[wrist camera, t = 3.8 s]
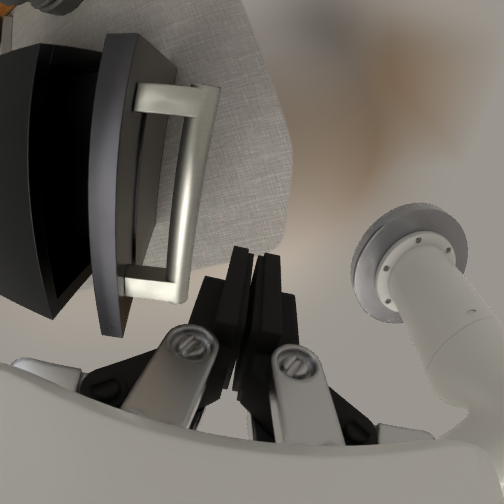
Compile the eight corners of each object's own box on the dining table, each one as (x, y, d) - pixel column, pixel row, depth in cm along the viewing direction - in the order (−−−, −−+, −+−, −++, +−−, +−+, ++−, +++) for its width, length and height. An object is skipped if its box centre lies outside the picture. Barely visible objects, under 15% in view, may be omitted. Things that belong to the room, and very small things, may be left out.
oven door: (218, 73, 25) (234, 42, 10) (191, 228, 34) (184, 345, 19) (162, 66, 24) (106, 33, 9) (142, 223, 32) (101, 335, 17)
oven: (161, 66, 24) (40, 42, 8) (141, 221, 32) (53, 320, 17) (41, 72, 23) (-72, 87, 7) (35, 199, 32) (-55, 261, 16)
